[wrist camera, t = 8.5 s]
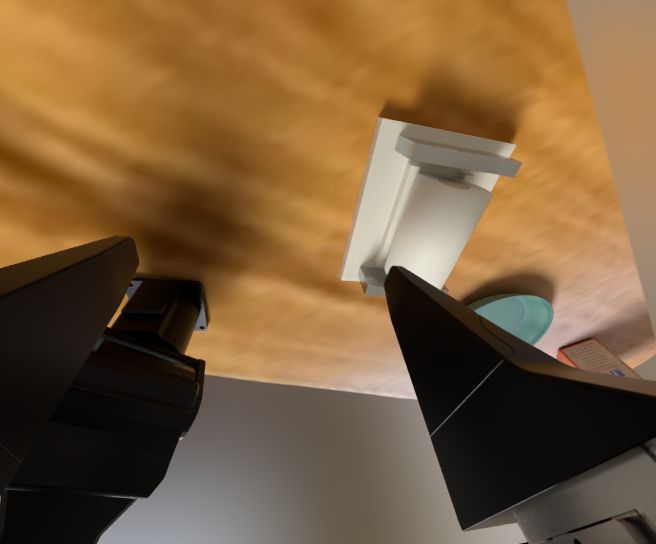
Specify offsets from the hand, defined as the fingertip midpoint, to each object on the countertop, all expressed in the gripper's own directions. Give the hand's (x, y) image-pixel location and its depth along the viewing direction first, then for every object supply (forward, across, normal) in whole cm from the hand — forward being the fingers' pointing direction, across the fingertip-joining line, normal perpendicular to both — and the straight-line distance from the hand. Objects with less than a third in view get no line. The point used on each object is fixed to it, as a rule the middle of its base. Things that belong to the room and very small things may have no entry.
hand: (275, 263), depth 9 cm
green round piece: (+13, -29, +15) cm, 35 cm away
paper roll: (+12, -12, +2) cm, 17 cm away
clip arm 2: (+12, -12, -4) cm, 17 cm away
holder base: (+13, -12, +2) cm, 18 cm away
